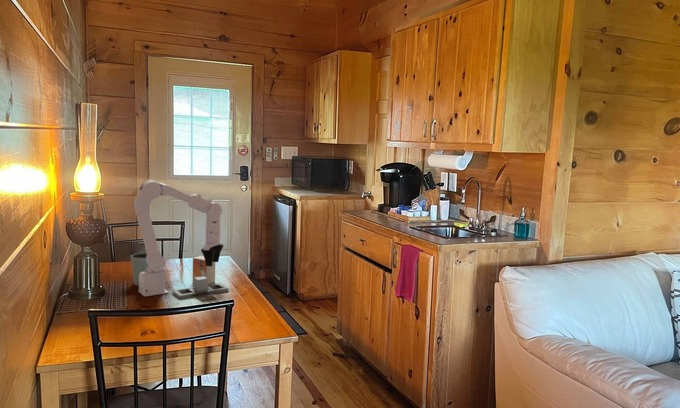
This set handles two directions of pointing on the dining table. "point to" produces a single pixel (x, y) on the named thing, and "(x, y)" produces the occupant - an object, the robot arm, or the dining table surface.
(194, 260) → the small box
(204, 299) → the pad
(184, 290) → the grey slotted plate
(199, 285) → the block
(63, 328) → the dining table surface
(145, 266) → the green bin
